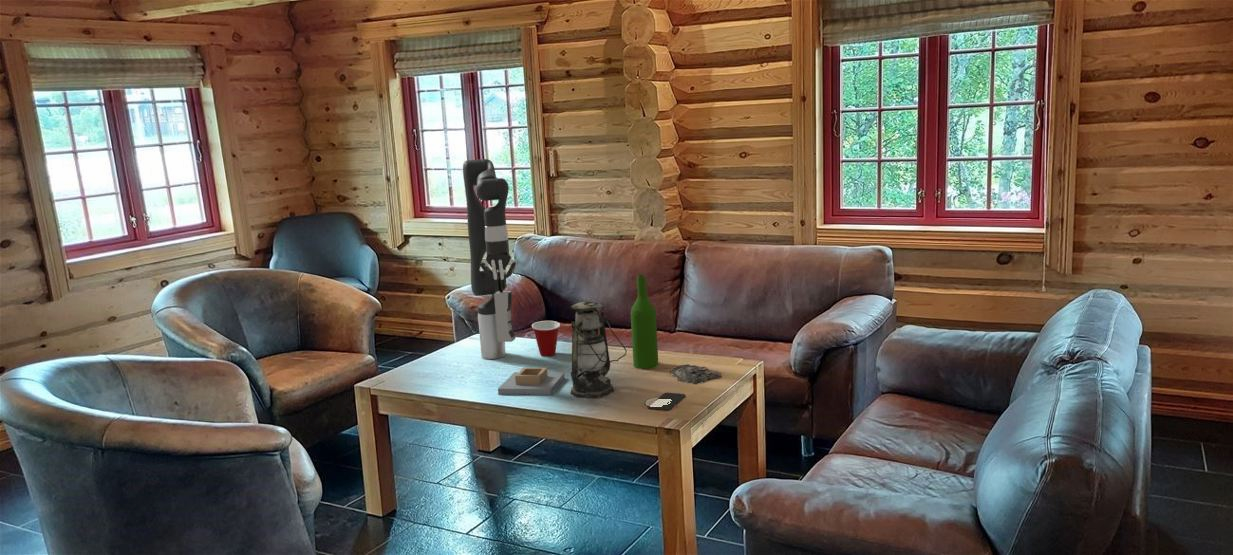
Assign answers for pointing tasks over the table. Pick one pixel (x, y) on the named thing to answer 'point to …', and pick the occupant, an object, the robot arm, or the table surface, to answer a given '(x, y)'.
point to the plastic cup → (546, 336)
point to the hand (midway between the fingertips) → (501, 290)
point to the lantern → (590, 352)
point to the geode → (694, 374)
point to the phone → (675, 400)
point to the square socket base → (532, 382)
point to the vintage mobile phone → (504, 315)
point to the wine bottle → (644, 329)
